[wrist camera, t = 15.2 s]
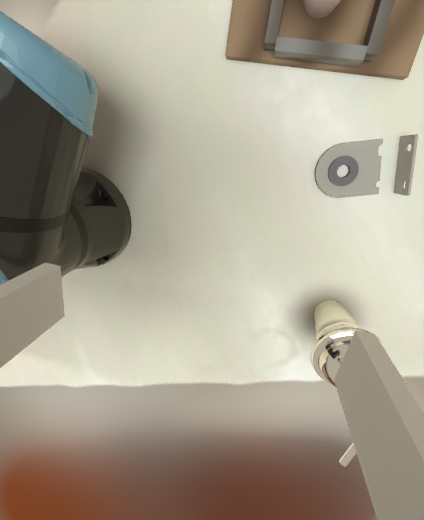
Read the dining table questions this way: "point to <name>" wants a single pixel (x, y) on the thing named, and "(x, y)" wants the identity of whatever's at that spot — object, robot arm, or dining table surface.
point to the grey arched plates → (363, 168)
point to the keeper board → (329, 35)
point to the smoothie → (319, 7)
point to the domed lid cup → (333, 346)
